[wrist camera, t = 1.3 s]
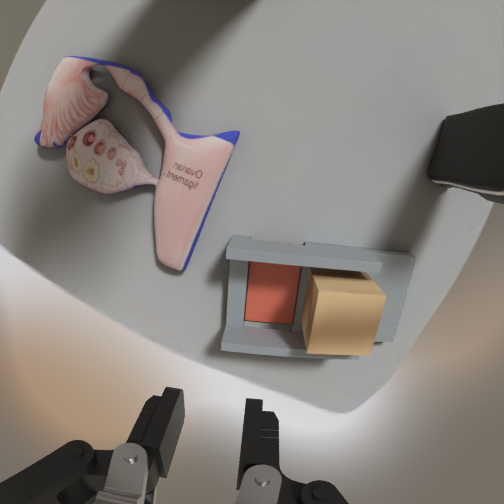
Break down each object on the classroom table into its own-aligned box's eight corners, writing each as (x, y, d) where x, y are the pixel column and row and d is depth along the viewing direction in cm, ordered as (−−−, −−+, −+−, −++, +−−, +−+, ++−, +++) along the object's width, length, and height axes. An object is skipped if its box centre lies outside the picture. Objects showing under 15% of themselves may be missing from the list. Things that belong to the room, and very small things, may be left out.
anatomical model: (188, 267, 27) (255, 109, 23) (180, 279, 24) (254, 102, 20) (27, 190, 26) (72, 57, 22) (10, 194, 23) (56, 50, 19)
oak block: (309, 267, 25) (318, 291, 20) (366, 272, 24) (386, 296, 20) (300, 321, 26) (306, 353, 21) (354, 324, 26) (369, 355, 21)
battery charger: (452, 197, 23) (537, 219, 12) (423, 178, 23) (508, 191, 12) (472, 133, 21) (556, 129, 10) (444, 112, 21) (528, 95, 10)
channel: (233, 235, 25) (226, 247, 21) (409, 253, 25) (430, 267, 21) (227, 325, 28) (220, 350, 24) (388, 335, 27) (403, 358, 23)
